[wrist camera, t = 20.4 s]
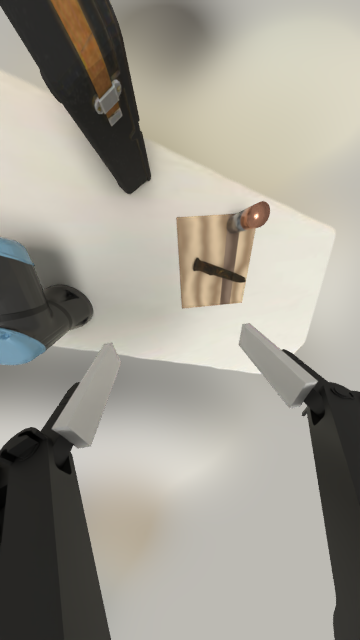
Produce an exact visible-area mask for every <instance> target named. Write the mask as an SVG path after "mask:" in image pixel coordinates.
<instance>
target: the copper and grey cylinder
mask: <svg viewBox="0 0 360 640" xmlns="http://www.w3.org/2000/svg"><path fill="white" fill-rule="evenodd" d="M269 214H270V207H269V205H268V204H267V203H266V202H264V201H262V202H259V203H257V204H255V205H253V206H251V207H249V208H247V209H245V210H243V211H241V212H239V213H237V214H235V215H233V216H232V217H230V218H229V220H228V222H227V230H228V232H229V233H232V234H233V233H237V232H241V231H246V230H250V229H254V228H258V227H261V226H262V225H264V224H265V223H266V221H267V220H268V218H269Z"/></svg>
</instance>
